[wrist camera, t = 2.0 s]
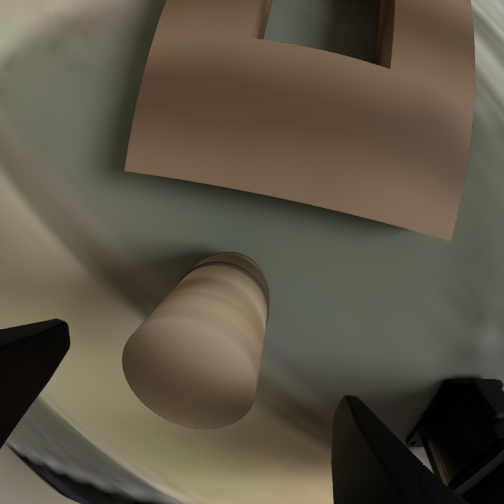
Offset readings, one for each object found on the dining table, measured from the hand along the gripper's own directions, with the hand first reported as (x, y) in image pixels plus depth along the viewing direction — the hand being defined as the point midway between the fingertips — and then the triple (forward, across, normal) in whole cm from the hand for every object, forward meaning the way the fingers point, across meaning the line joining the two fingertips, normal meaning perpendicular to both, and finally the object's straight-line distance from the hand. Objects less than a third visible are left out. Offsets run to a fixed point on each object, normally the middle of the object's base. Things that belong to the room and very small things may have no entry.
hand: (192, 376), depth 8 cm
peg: (+8, 0, 0) cm, 8 cm away
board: (+8, -2, -14) cm, 16 cm away
